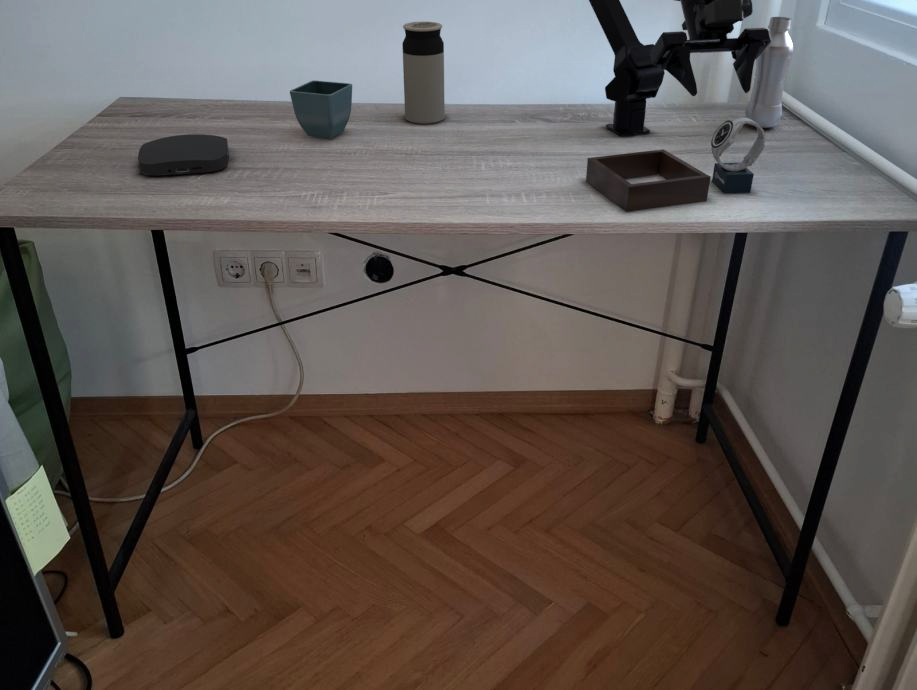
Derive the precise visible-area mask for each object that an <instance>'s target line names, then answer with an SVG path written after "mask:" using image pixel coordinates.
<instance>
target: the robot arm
mask: <svg viewBox="0 0 917 690" xmlns="http://www.w3.org/2000/svg"><path fill="white" fill-rule="evenodd" d="M674 1H677V2H680V6H681V11H682V14H683V18H684V21H683V22H682V24H681V29H682V31H664V32H662V33H661V34H660V36H659V37H658V39H657V41H656V42H655V43H651V44H643V43H642V42H641V41H640V40H639V38H638V36H637V33H636V32H635V30H634V27H633V25H632V23H631V22H630V19H629V17H628V15H627V13H626V10H625V9H624V7H623V5H622V2H621V0H588V2H589V4H590V6H591V8H592V11H593V12H594V15H595V17H596V19H597V20H598V23H599V25H600V27H601V29H602V31H603V33H604V35H605V37H606V40H607V42H608V44H609V46H610V48H611V50H612V52H613V55H614V60H613V68H612V71H613V74H614V77H613V78H612V79H611V80H610V81H609V83H607V85H606V86H604V91H605V92H604V93H605V98H606V99H607V100H609V101H612V102H614V109H613V111H614V112H613V119H612V123H606V124H605V128H607V129H608V130H609V131H611V132H613V133H615V134H616V135H618V136H621V137H624V136H633V135H642V134H650V133H651V129H649V128H648V127H646V126H645V119H646V113H647V109H646V108H647V100H648V99H651V98H652V99H653V98H656V97H657V95H658V92H659V90H660V88H661V86H662V85H663V81H664V79H665V78H664V77H665V72H668V73H669V74H670V75H671V76H672V77H673V78H674V79H675V80H676V81H678V82H679V83H680V85H681V86H682V87H683V88H684V89H685V90H686V91H687V92H688V93H689V94H690V95H691V96H692V97H696V96H697V94H698V86H697V82H696V77H695V75H694V70H693V66H692V62H691V54H697V53H698V54H699V53H700V54H709V53H727V52H728V53H731V57H732V59H733V60H734V62H733V63H732V66H733V69H734V71H735V74H736V76H737V79H738V81H739V85H740V86H741V88H742V91H743V92H744V93H745V94H748V93H749V92H750V91H751V88H752V87H751V86H752V79H753V71H754V66H755V63H756V59H757V58H758V57H759V55H760V54H761V53H762V52H763V51H764V50H765V48H766V47H767V46H768V45H769V44H770V43H771V41H772V40H771V36H770V32H769V29H768V28H766V27H751V28H749V27H748V28H744V29H743V30H742V31H741V33H740V34H739V35H738V36H737V37H733V38H732V37H731V38H728V34H732V32H733V31H734V30H735V27H734V25H736V23H739V22H743V21H744V19H746V18H749V17H750V16H752V14H753V11H754V8H753V7H754V6H753V1H752V0H674ZM685 31H687V32H685ZM687 35H688V36H687Z"/></svg>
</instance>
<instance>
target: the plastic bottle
mask: <svg viewBox="0 0 917 690" xmlns="http://www.w3.org/2000/svg"><path fill="white" fill-rule="evenodd" d="M791 25H792V18H791V17H786V16H771V17H770V18H769V23H768V25H767V29H768V31H769V32H770V36H771V40H772V41H771V43H770V44H769V45H768V46H767V47H766V48H765V50H764V51H763V52H762V53H761V54H760V55H759V57H758V58H757V59H755V70H754V71H755V72H754V78H753V86H752V89H751V93H750V97H749V100H748V102H747V105H746V108H745V118H749V119H751V120H753V121H754V122H756V123H757V124H758V125H760V126H761V127H762V129H763V128H774V127H776V126H777V125H778V124H779V123H780V121H781V118H782V115H783V103H782V101H783V92H784V85H785V79H786V76H787V73H788V69H789V66H790V63H791V60H792V56H793V53H794V43H793V41H792V38H791V36H790V34H789V31H791ZM748 125H749V126H752V127H756V126H755V125H753V124H748Z"/></svg>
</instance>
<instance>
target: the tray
mask: <svg viewBox="0 0 917 690" xmlns="http://www.w3.org/2000/svg"><path fill="white" fill-rule="evenodd" d="M586 161H587V162H586V174H585V182H586V183H587V184H588V185H590V186H591V187H593V188H594V189H595V190H596V191H598V192H599V193H600V194H601V195H603V196H604V197H606V198H607V199H608V200H609V201H611V202H612V203H614V204H615V205H616V206H617V207H619V208H620V209H622V210H623V211H624V212H625V213H630V212H637V211H645V210H651V209H653V210H654V209H661V208H667V207H675V206H681V205H689V204H695V203H705V202H707V201H708V196H709V190H710V185H711V179H712V176H711V175H709V174H707V173H706V172H704V171H702V170H700V169H698V168H697V167H695V166H693V165H692V164H690V163H688V162H686V161H684V159H681V158H680V157H678V156H676V155H674V154H672V153H671V152H669V151H668V150H666V149H654V150H647V151H637V152H636V151H635V152H627V153H619V154H611V155H602V156H593V157H587V160H586ZM650 176H660V177H661V178H663V179H661V180H654V181H653V180H652V181H645V182H638V183H637V182H636V183H631V182H629V181H628V180H627V179H635V178H642V177H650Z"/></svg>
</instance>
